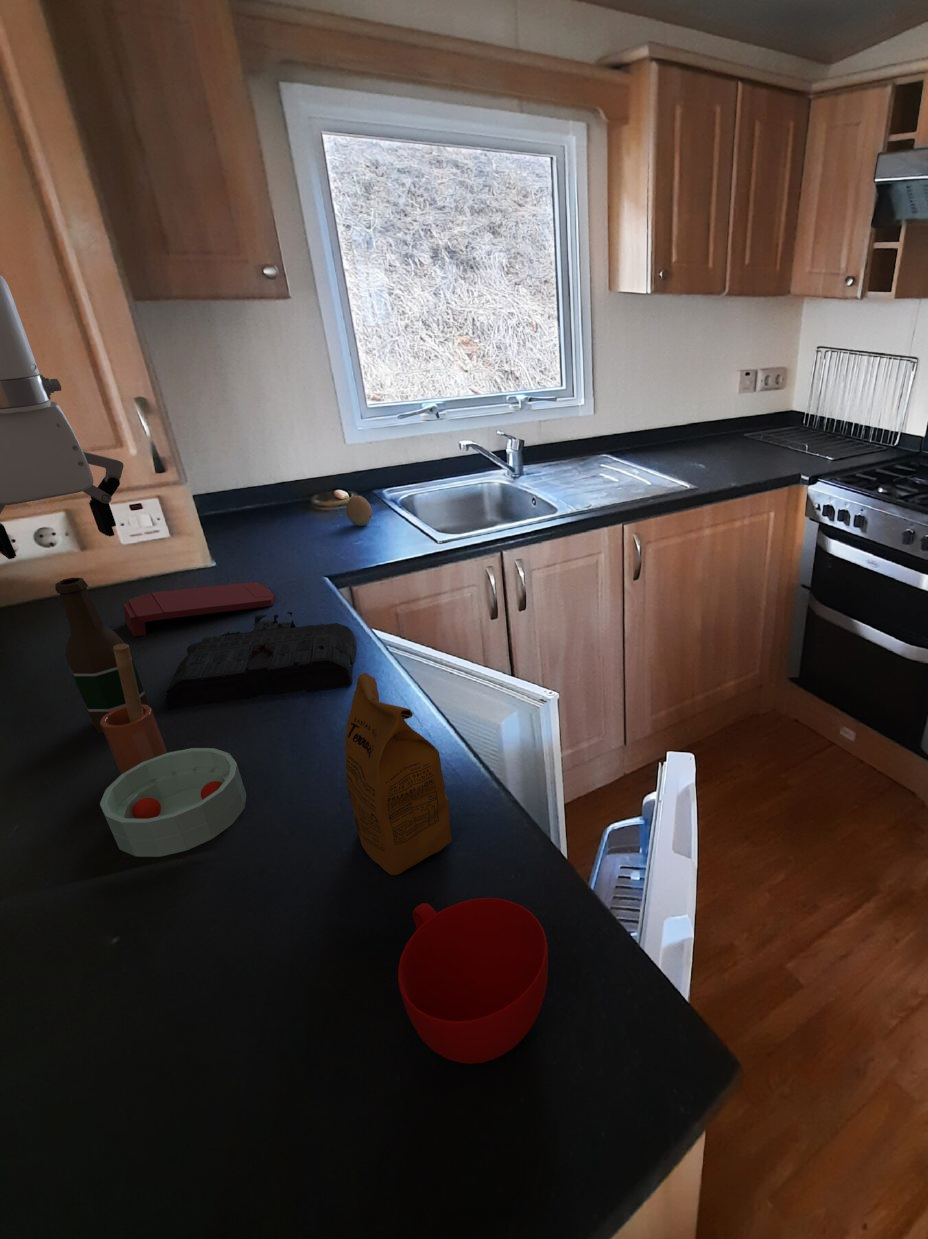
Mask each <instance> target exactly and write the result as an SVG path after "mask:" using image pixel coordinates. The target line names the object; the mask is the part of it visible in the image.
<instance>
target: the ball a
mask: <svg viewBox="0 0 928 1239" xmlns="http://www.w3.org/2000/svg"><path fill="white" fill-rule="evenodd" d="M160 812H161V805H160V803H159V802H158V801H157V800H156V799H154V798H143V799H141V800H139V801H138V802H136V803H135V805H134V806H133V809H132V814H133V816H134V818H135V819H149V818H154V817H157V816H158V815H159V814H160Z"/></svg>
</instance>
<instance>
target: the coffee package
mask: <svg viewBox="0 0 928 1239" xmlns="http://www.w3.org/2000/svg"><path fill="white" fill-rule="evenodd" d="M350 706H351V708H350V711H349V714H348V718H347V721H346V730H345V736H344V742H345V745H344V746H345V747H344V751H345V752H344V753H345V772H346V773H345V774H346V788H347V792H348V796H349V800H350V804H351V807H352V812H353V817H354V822H355V828H356V831H357V834H358V835H359V839H360V844H361V846H362V848H363V850H364V851H365V852H366V854H367V856H368V857H369V858H370V859H371V860H372V861H373V862H374V863H376V864H378V865H379V867H381V869H383V870H384V871H385V872H386V873H387V874H389V875H390V876H398V875H402V874H403V873H404V872H406V871H407V870H409V869H411V868H412V867H414V866H416V865H418V864H419V863H421V862H423V860H425V859H427V858H429V857H431V856H433V855H435V854H438V853H439V852H441V851H443V849H444V848H445V847H447V846H448V845H449V844H450V843H451V842H452V841H453V839H452V832H451V825H450V822H451V820H450V800H449V798H448V796H447V793H446V785H445V781H444V776H443V771H442V763H441V762H442V761H441V756H440V751H439V750H438V749H437V748H436V746H435V745H434V744H433V743H432V742H430V741H429V740H428V739H426V738H425V737H424V736H423V735H421V734H420V733H418V732H417V731H416V730H414V729H413V728H412V727H411V726H410V725H409V724H408V723H407V722H406V720H408V719H411V718H412V717H413V715H414V713H413V711H412V710H411V708H407V707H404V706H399V705H394V704H390V703H386V702H382V701H380V694H379V690H378V682H377V680H376V678H375V677H374V676H372V675H370V674H368V673H366V672H363V673H361V674H359V675H358V677H357V681H356V686H355V690H354V694H353V697H352V700H351V705H350Z"/></svg>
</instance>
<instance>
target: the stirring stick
mask: <svg viewBox="0 0 928 1239" xmlns="http://www.w3.org/2000/svg"><path fill="white" fill-rule="evenodd" d="M113 650H114V654H115V659H116V663H117V667H118V672H119V676H120V680H121V685H122V689H123V693H124V698H125V702H126V706H127V711H128V715H129V720H130V722H133V721H135V720H138V719H139V718H140V717H142V716H143V715H144V714H143V710H142V705H141V700H140V696H139V691H138V687H137V682H136V678H135V673H134V668H133V664H132V659H133V658H132V659H131V657H132V654H131V650H130V646H129V644H128V643H124V644H117V645H115V646H114V647H113Z"/></svg>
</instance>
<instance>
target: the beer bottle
mask: <svg viewBox="0 0 928 1239" xmlns="http://www.w3.org/2000/svg"><path fill="white" fill-rule="evenodd" d="M54 586H55V588H54V590H55V591H56V593H57V594H59V596H60V598H61V602H62V605H63V608H64V612H65V614H66V618H67V621H68V624H69V631H70V636H69V638H68V639H67V640H68V641H67V643H66V645H65V658H66V662H67V665H68V668H69V670H70V673H71V675H72V677H73V680H74V683H75V685H76V688H77V690H78V692H79V695H80V697H81V700H82V702H83V704H84V707H85V709H86V711H87V714H88V716H89V719H90V721H91V722H92V724H93V726H94V728H95V729H96V732H97V733H98V734H104V732H103V730H102V727H101V725H100V721H101V719H102V717H103V716H105V715H106V714H108V713H109V712H111V711H112V710H115V709H118V708H120V707H123V706H126V702H125V698H124V693H123V689H122V685H121V680H120V676H119V672H118V667H117V663H116V659H115V654H114V650H113V647H114V646H115V645H117V644H125V642H124V641H123V639H122V638H121V637H120V636H119V635H118V634H117V633H116V632H115V631H114V630H112V629H110V628H109V627H108V626H106V625H105V623H104V621H102V619H101V617H100V614H99V613H98V610H97V608H96V606H95V604H94V602H93V599H92V596H91V595H90V592H89V591H88V587H89V585H88V584H87V582H86V580H85V579H84V578H83V577H67V578H64V579H62V580H60V581H58V582H55V584H54ZM131 659H132V664H133V668H134V673H135V678H136V682H137V687H138V691H139V696H140V700H141V704H144V705H148V706H149V707H150V704H149V701H148V698H147V695H146V693H145V689H144V687H143V685H142V682H141V679H140V676H139V673H138V671H137V667H136V664H135V662H134V660H133V657H132V656H131ZM150 708H151V707H150Z"/></svg>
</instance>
